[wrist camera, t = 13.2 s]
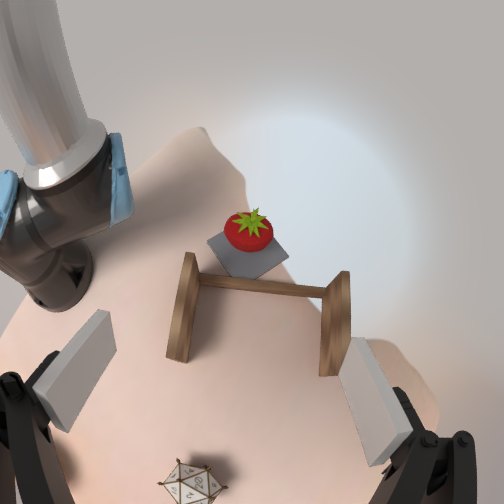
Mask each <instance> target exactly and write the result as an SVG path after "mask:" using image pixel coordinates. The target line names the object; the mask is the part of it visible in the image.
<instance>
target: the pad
mask: <svg viewBox="0 0 504 504" xmlns="http://www.w3.org/2000/svg"><path fill="white" fill-rule="evenodd" d="M207 243H208V245H209V246H210V248H211V249H212V251H213V252H214V253H215V255H216V256H217V258H218V259H219V261H220V262H221V263H222V265H223V266H224V268H225V269H226V271H227V272H228V273H229V275H230V276H231V277H235V278H243V279H251V280H255V279H256V278H258V277H259V276H261V275H262V274H264V273H266V272H267V271H269V270H270V269H272V268H273V267H275V266H276V265H278V264H280V263H281V262H283V261H284V260H285V259H287V258H288V257H289V256H288V254H287V253H286V252H285V251H284V249H283V248H282V247H281V246H280V245H279V243H278V242H277V241H276V240H275V238H274V237H273V239H272V241H271V242H270V244H269V245H268V246H267V247H265V248H264V249H263V250H261V251H258V252H243V251H241V250H238V249H236V248H235V247H233V246H232V245H231V244H230V243H229V241H228V239H227V238H226V236H225V234H224V231H223V232H222V233H220V234H218V235H216V236H214V237H213V238H211V239H209V240H207Z"/></svg>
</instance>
